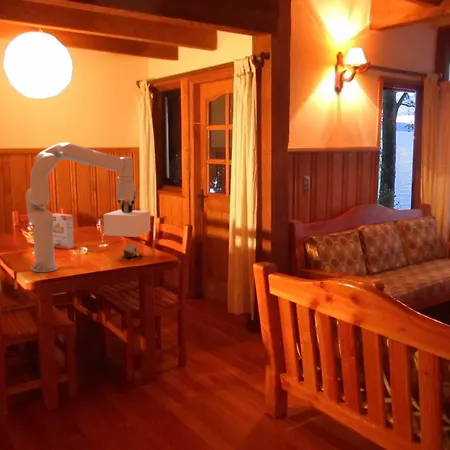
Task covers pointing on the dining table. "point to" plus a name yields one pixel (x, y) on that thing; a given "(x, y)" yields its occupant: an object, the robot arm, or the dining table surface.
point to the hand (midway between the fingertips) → (127, 211)
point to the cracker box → (63, 231)
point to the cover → (126, 222)
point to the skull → (131, 252)
